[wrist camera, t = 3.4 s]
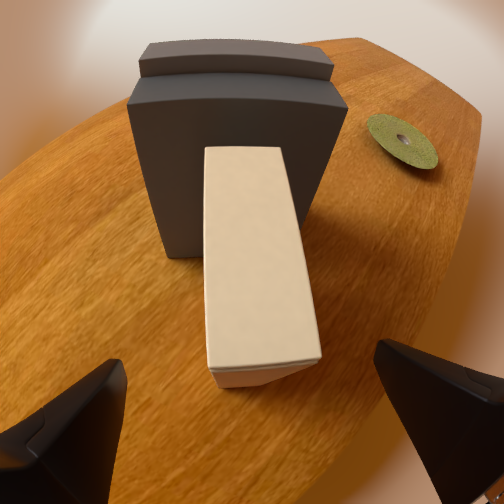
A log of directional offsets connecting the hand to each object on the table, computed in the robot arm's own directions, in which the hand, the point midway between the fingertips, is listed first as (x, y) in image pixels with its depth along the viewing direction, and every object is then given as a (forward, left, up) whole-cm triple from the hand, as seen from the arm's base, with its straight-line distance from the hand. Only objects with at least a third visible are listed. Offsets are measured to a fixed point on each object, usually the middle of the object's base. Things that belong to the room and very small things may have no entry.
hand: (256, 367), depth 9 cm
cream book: (+3, -2, -11) cm, 11 cm away
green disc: (+7, -34, -11) cm, 37 cm away
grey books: (+10, -8, -11) cm, 17 cm away
